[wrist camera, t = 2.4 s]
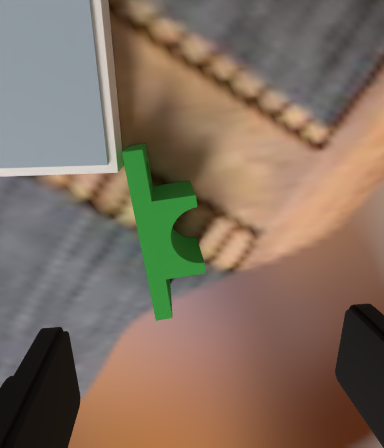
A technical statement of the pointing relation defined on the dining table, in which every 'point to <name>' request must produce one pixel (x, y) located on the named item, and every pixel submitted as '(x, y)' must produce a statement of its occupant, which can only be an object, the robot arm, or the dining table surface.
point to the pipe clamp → (161, 228)
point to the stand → (57, 89)
